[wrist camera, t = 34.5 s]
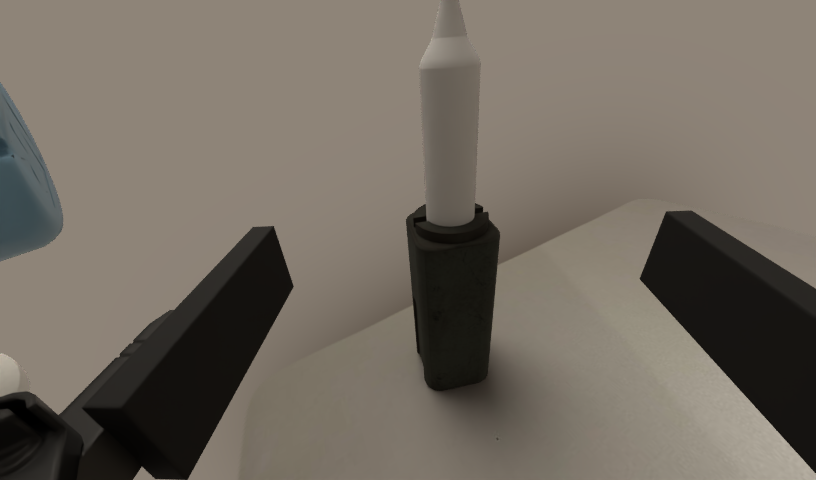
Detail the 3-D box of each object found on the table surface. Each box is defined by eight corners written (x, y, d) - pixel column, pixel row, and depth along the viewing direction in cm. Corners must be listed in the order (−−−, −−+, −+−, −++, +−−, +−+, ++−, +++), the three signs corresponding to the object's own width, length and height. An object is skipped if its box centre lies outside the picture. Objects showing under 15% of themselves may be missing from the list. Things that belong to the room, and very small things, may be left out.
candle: (414, 341, 28) (382, -16, 15) (469, 330, 29) (483, -22, 16) (428, 393, 24) (399, -43, 11) (492, 379, 25) (537, -49, 12)
